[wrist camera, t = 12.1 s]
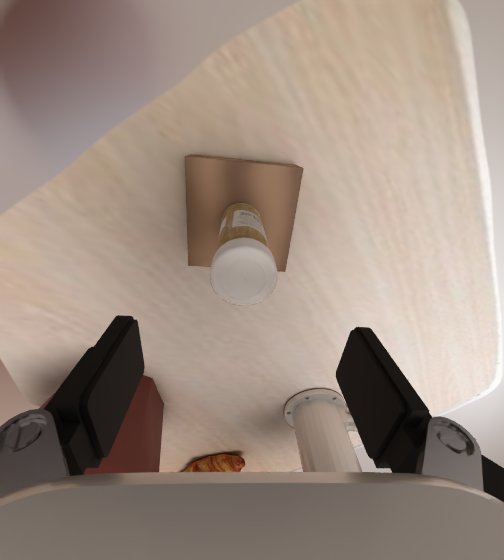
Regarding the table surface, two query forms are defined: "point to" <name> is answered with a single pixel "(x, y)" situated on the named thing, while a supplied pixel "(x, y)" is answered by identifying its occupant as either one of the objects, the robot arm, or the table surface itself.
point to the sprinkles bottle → (243, 258)
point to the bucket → (136, 434)
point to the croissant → (217, 464)
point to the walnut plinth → (239, 189)
